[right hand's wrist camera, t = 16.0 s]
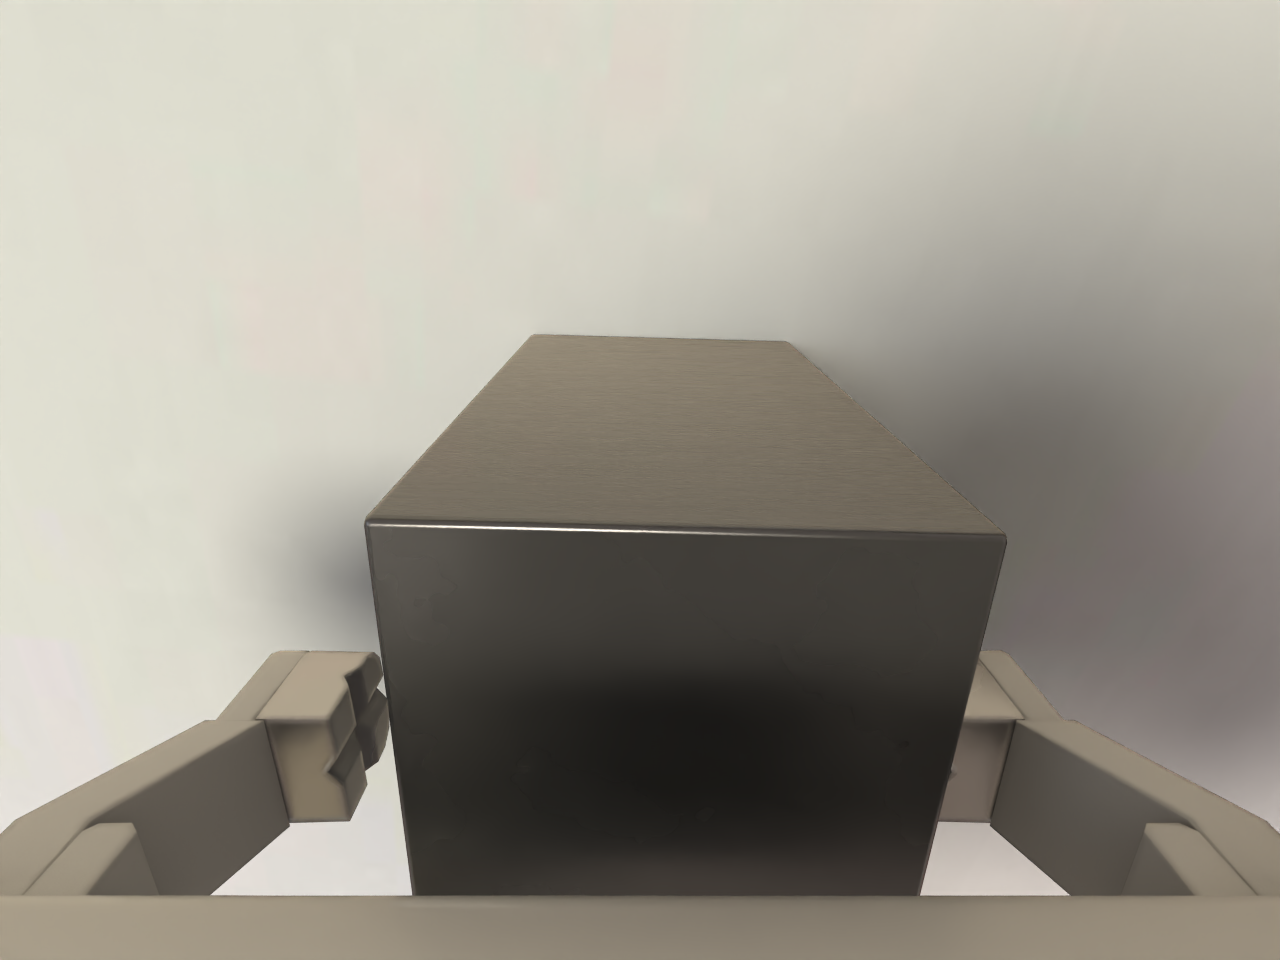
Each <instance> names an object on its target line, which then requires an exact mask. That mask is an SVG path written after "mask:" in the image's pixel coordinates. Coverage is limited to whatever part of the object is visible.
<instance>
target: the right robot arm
mask: <svg viewBox="0 0 1280 960" xmlns="http://www.w3.org/2000/svg"><path fill="white" fill-rule="evenodd" d="M382 677H383V671H382V666H381V661H380V657H379V656H378V655H377V654H376V653H374V652H345V651H311V652H310V651H278V652H275V653H272V654H271V655H270V656H269V657H268V659H267V660H266V661H265V662H264V663H263V665H262V666H261V667H260V668H259V669H258V670H257V672H256V673H255V674H254V675H253V676H252V678H251V679H250V680H249V681H248V682H247V684H246V685H245V686H244V687H243V688H242V690H241V691H240V692H239V693H238V694H237V695H236V697H235V698H234V699H233V700H232V701H231V703H230V704H229V705H228V706H227V707H226V709H225V710H224V711H223V712H222V713H221V715H220V716H219V717H218V718H217V719H216V720H205V721H203V722H201V723H199V724H197V725H195V726H193V727H192V728H190V729H188V730H186V731H184V732H182V733H180V734H178V735H176V736H174V737H172V738H171V739H169V740H167V741H165V742H163V743H161V744H159V745H157V746H155V747H153V748H151V749H150V750H148V751H146V752H144V753H142V754H140V755H138V756H136V757H134V758H132V759H131V760H129V761H127V762H125V763H123V764H121V765H119V766H117V767H115V768H113V769H111V770H110V771H108V772H106V773H104V774H102V775H100V776H98V777H96V778H94V779H92V780H90V781H89V782H87V783H85V784H83V785H81V786H79V787H77V788H75V789H73V790H71V791H69V792H68V793H66V794H64V795H62V796H60V797H58V798H56V799H54V800H52V801H50V802H48V803H47V804H45V805H43V806H41V807H39V808H37V809H35V810H33V811H31V812H29V813H27V814H26V815H24V816H22V817H20V818H18V819H16V820H15V821H14V822H13V823H11V824H10V825H9V826H8V827H7V828H6V829H5V830H4V831H3V832H2V833H1V834H0V960H1280V834H1279V833H1278V832H1277V831H1276V830H1275V829H1274V828H1273V827H1272V826H1271V825H1270V824H1269V823H1268V822H1267V821H1265V820H1263V819H1262V818H1260V817H1258V816H1256V815H1254V814H1252V813H1250V812H1248V811H1246V810H1244V809H1242V808H1241V807H1239V806H1237V805H1235V804H1233V803H1231V802H1229V801H1227V800H1225V799H1223V798H1222V797H1220V796H1218V795H1216V794H1214V793H1212V792H1210V791H1208V790H1206V789H1204V788H1203V787H1201V786H1199V785H1197V784H1195V783H1193V782H1191V781H1189V780H1187V779H1185V778H1184V777H1182V776H1180V775H1178V774H1176V773H1174V772H1172V771H1170V770H1168V769H1166V768H1165V767H1163V766H1161V765H1159V764H1157V763H1155V762H1153V761H1151V760H1149V759H1147V758H1145V757H1144V756H1142V755H1140V754H1138V753H1136V752H1134V751H1132V750H1130V749H1128V748H1126V747H1125V746H1123V745H1121V744H1119V743H1117V742H1115V741H1113V740H1111V739H1109V738H1107V737H1106V736H1104V735H1102V734H1100V733H1098V732H1096V731H1094V730H1092V729H1090V728H1088V727H1087V726H1085V725H1083V724H1081V723H1079V722H1077V721H1075V720H1064V719H1063V718H1062V717H1061V716H1060V715H1059V713H1058V712H1057V711H1056V710H1055V709H1054V707H1053V706H1052V705H1051V704H1050V703H1049V701H1048V700H1047V699H1046V698H1045V697H1044V696H1043V694H1042V693H1041V692H1040V691H1039V690H1038V688H1037V687H1036V686H1035V685H1034V684H1033V682H1032V681H1031V680H1030V679H1029V678H1028V677H1027V675H1026V674H1025V673H1024V672H1023V671H1022V669H1021V668H1020V667H1019V666H1018V665H1017V663H1016V662H1015V661H1014V660H1013V659H1012V658H1011V656H1010V655H1009V654H1007V653H1005V652H1003V651H1001V650H993V651H980V654H979V658H978V662H977V666H976V670H975V674H974V678H973V682H972V686H971V690H970V694H969V698H968V702H967V706H966V711H965V715H964V719H963V723H962V727H961V731H960V735H959V739H958V743H957V747H956V751H955V755H954V759H953V763H952V767H951V771H950V775H949V779H948V783H947V787H946V791H945V795H944V799H943V804H942V808H941V812H940V816H939V820H938V821H941V822H977V823H990V826H991V827H992V828H993V829H994V830H996V831H997V832H998V833H999V834H1000V835H1001V836H1002V837H1004V838H1005V839H1006V840H1007V841H1008V842H1009V843H1011V844H1012V845H1013V846H1014V847H1015V848H1016V849H1017V850H1019V851H1020V852H1021V853H1022V854H1023V855H1024V856H1026V857H1027V858H1028V859H1029V860H1030V861H1031V862H1033V863H1034V864H1035V865H1036V866H1037V867H1038V868H1039V869H1041V870H1042V871H1043V872H1044V873H1045V874H1046V875H1048V876H1049V877H1050V878H1051V879H1052V880H1053V881H1055V882H1056V883H1057V884H1058V885H1059V886H1060V887H1061V888H1063V889H1064V890H1065V891H1066V892H1067V893H1068V894H1070V895H1071V896H609V895H496V896H242V895H211V894H212V893H213V892H214V891H215V890H216V889H218V888H219V887H220V886H221V885H222V884H223V883H225V882H226V881H227V880H228V879H229V878H230V877H231V876H233V875H234V874H235V873H236V872H237V871H238V870H240V869H241V868H242V867H243V866H244V865H245V864H247V863H248V862H249V861H250V860H251V859H252V858H254V857H255V856H256V855H257V854H258V853H259V852H260V851H262V850H263V849H264V848H265V847H266V846H267V845H269V844H270V843H271V842H272V841H273V840H274V839H276V838H277V837H278V836H279V835H280V834H281V833H282V832H284V831H285V830H286V829H287V828H288V827H289V826H290V824H289V823H303V822H337V821H350V820H351V818H352V816H353V813H354V811H355V809H356V807H357V805H358V803H359V801H360V799H361V797H362V795H363V793H364V791H365V789H366V786H367V779H366V774H365V771H366V770H367V769H369V768H370V767H371V766H373V765H374V764H375V763H377V762H378V761H379V759H380V757H381V754H382V752H383V750H384V748H385V745H386V740H387V735H388V730H389V711H388V703H387V698H386V697H385V696H384V695H383V694H382V693H381V692H380V691H379V690H378V689H377V686H378V684H379V682H380V680H381V678H382Z"/></svg>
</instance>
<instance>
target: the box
mask: <svg viewBox="0 0 1280 960" xmlns="http://www.w3.org/2000/svg"><path fill="white" fill-rule="evenodd" d="M364 527H365V535H366V543H367V550H368V558H369V566H370V573H371V581H372V589H373V596H374V604H375V612H376V619H377V627H378V635H379V642H380V650H381V658H382V665H383V673H384V680H385V688H386V696H387V703H388V711H389V719H390V726H391V734H392V742H393V749H394V757H395V765H396V772H397V780H398V788H399V795H400V803H401V811H402V818H403V826H404V834H405V841H406V849H407V856H408V864H409V872H410V879H411V887H412V895H413V896H496V895H609V896H920V892H921V888H922V884H923V880H924V876H925V872H926V868H927V864H928V860H929V856H930V852H931V848H932V844H933V840H934V836H935V832H936V828H937V824H938V820H939V816H940V812H941V808H942V804H943V799H944V795H945V791H946V787H947V783H948V779H949V775H950V771H951V767H952V763H953V759H954V755H955V751H956V747H957V743H958V739H959V735H960V731H961V727H962V723H963V719H964V715H965V711H966V706H967V702H968V698H969V694H970V690H971V686H972V682H973V678H974V674H975V670H976V666H977V662H978V658H979V654H980V650H981V646H982V642H983V638H984V634H985V630H986V626H987V622H988V618H989V613H990V609H991V605H992V601H993V597H994V593H995V589H996V585H997V581H998V577H999V573H1000V569H1001V565H1002V561H1003V557H1004V553H1005V549H1006V545H1007V538H1006V535H1005V533H1004V532H1003V531H1002V530H1000V529H999V528H998V527H997V526H996V525H995V524H994V523H992V522H991V521H990V520H989V519H988V518H987V517H986V516H984V515H983V514H982V513H981V512H980V511H979V510H978V509H977V508H975V507H974V506H973V505H972V504H971V503H970V502H969V501H967V500H966V499H965V498H964V497H963V496H962V495H961V494H960V493H958V492H957V491H956V490H955V489H954V488H953V487H952V486H950V485H949V484H948V483H947V482H946V481H945V480H944V479H942V478H941V477H940V476H939V475H938V474H937V473H936V472H935V471H933V470H932V469H931V468H930V467H929V466H928V465H927V464H925V463H924V462H923V461H922V460H921V459H920V458H919V457H918V456H916V455H915V454H914V453H913V452H912V451H911V450H910V449H908V448H907V447H906V446H905V445H904V444H903V443H902V442H901V441H899V440H898V439H897V438H896V437H895V436H894V435H893V434H891V433H890V432H889V431H888V430H887V429H886V428H885V427H883V426H882V425H881V424H880V423H879V422H878V421H877V420H876V419H874V418H873V417H872V416H871V415H870V414H869V413H868V412H866V411H865V410H864V409H863V408H862V407H861V406H860V405H859V404H857V403H856V402H855V401H854V400H853V399H852V398H851V397H849V396H848V395H847V394H846V393H845V392H844V391H843V390H841V389H840V388H839V387H838V386H837V385H836V384H835V383H834V382H832V381H831V380H830V379H829V378H828V377H827V376H826V375H824V374H823V373H822V372H821V371H820V370H819V369H818V368H817V367H815V366H814V365H813V364H812V363H811V362H810V361H809V360H807V359H806V358H805V357H804V356H803V355H802V354H801V353H799V352H798V351H797V350H796V349H795V348H794V347H793V346H792V345H790V344H789V343H788V342H779V341H743V340H708V339H673V338H637V337H602V336H566V335H531V336H530V337H529V338H528V340H527V341H526V342H525V343H524V344H523V345H522V346H521V347H520V348H519V349H518V351H517V352H516V353H515V354H514V355H513V356H512V357H511V358H510V359H509V360H508V362H507V363H506V364H505V365H504V366H503V367H502V368H501V369H500V370H499V371H498V373H497V374H496V375H495V376H494V377H493V378H492V379H491V380H490V381H489V382H488V384H487V385H486V386H485V387H484V388H483V389H482V390H481V391H480V392H479V393H478V395H477V396H476V397H475V398H474V399H473V400H472V401H471V402H470V403H469V404H468V405H467V407H466V408H465V409H464V410H463V411H462V412H461V413H460V414H459V415H458V416H457V418H456V419H455V420H454V421H453V422H452V423H451V424H450V425H449V426H448V427H447V429H446V430H445V431H444V432H443V433H442V434H441V435H440V436H439V437H438V438H437V440H436V441H435V442H434V443H433V444H432V445H431V446H430V447H429V448H428V449H427V451H426V452H425V453H424V454H423V455H422V456H421V457H420V458H419V459H418V460H417V462H416V463H415V464H414V465H413V466H412V467H411V468H410V469H409V470H408V471H407V472H406V474H405V475H404V476H403V477H402V478H401V479H400V480H399V481H398V482H397V483H396V485H395V486H394V487H393V488H392V489H391V490H390V491H389V492H388V493H387V494H386V496H385V497H384V498H383V499H382V500H381V501H380V502H379V503H378V504H377V505H376V507H375V508H374V509H373V510H372V511H371V512H370V513H369V514H368V515H367V516H366V519H365V522H364Z"/></svg>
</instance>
